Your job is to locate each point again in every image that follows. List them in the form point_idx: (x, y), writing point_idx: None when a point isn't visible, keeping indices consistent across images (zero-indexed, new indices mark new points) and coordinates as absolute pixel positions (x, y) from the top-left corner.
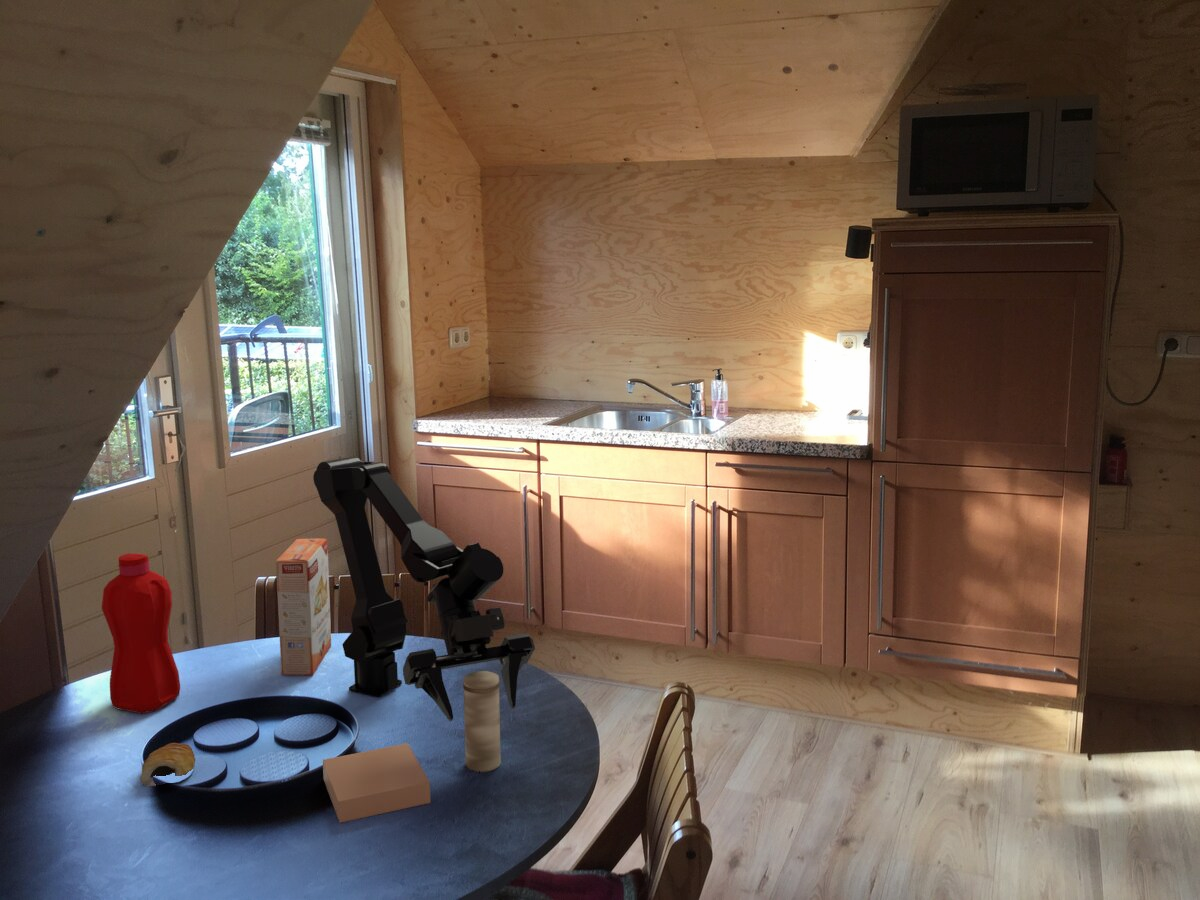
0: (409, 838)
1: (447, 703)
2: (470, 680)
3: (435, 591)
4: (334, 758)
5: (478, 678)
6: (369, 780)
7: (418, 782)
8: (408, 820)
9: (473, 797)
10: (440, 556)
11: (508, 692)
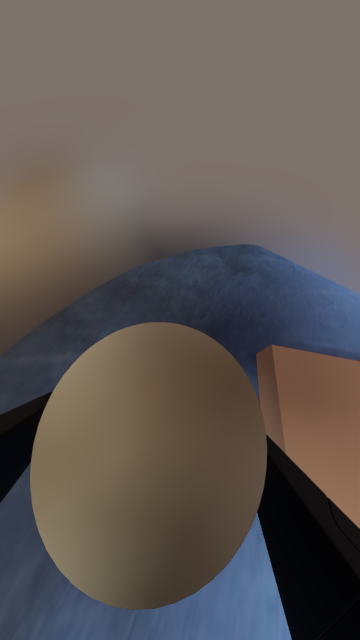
0: (284, 309)
1: (279, 458)
2: (228, 429)
3: None
4: None
5: (173, 431)
6: (355, 398)
7: (286, 352)
8: (283, 336)
9: None
10: None
11: (22, 449)
